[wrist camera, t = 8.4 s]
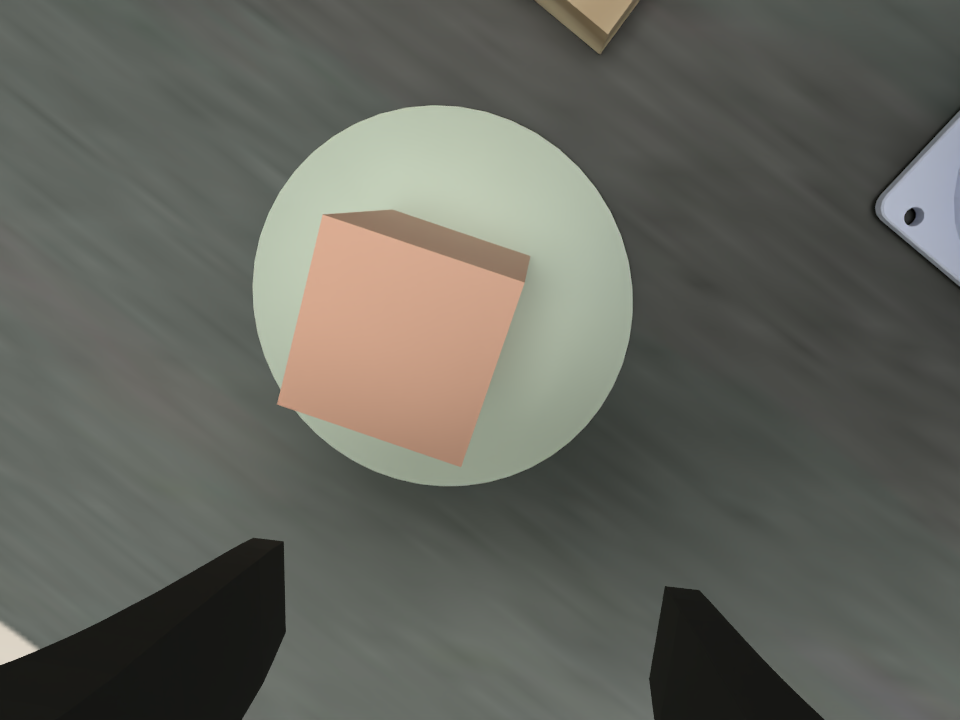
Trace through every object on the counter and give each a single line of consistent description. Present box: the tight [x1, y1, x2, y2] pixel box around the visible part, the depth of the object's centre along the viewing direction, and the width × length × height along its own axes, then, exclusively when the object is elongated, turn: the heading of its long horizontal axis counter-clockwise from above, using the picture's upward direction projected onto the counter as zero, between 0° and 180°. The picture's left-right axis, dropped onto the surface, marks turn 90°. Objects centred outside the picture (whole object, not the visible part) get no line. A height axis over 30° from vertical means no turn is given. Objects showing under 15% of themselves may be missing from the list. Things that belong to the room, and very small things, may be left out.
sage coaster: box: [253, 105, 633, 486], centre depth 19 cm, size 12×12×1 cm
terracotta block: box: [277, 210, 530, 467], centre depth 16 cm, size 4×4×6 cm
